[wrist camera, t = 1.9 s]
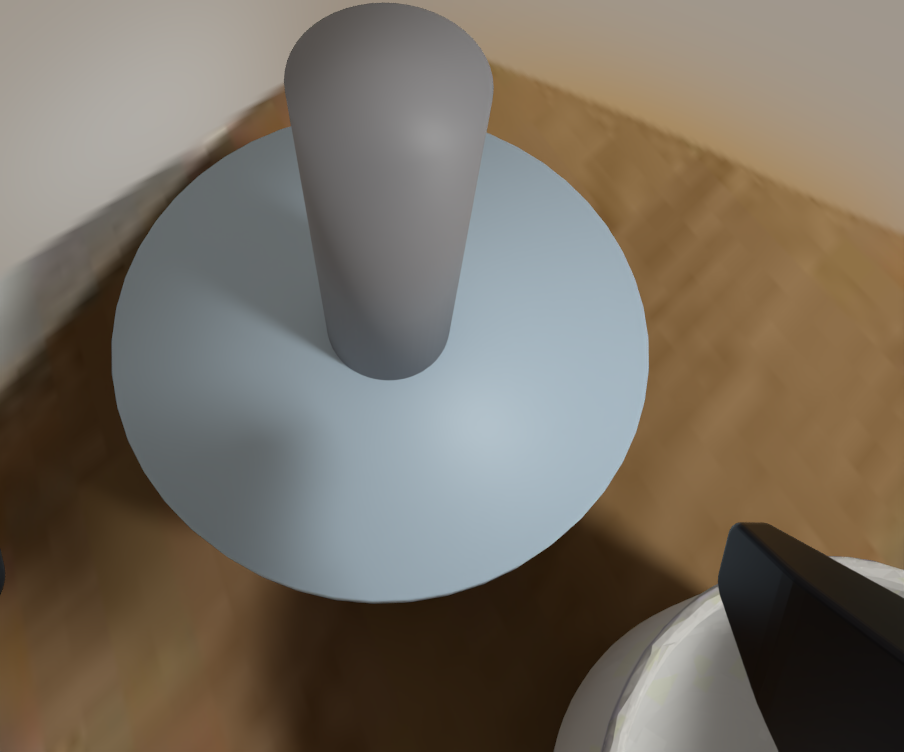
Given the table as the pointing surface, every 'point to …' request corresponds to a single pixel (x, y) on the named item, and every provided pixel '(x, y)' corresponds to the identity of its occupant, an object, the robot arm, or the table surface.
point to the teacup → (679, 683)
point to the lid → (380, 331)
